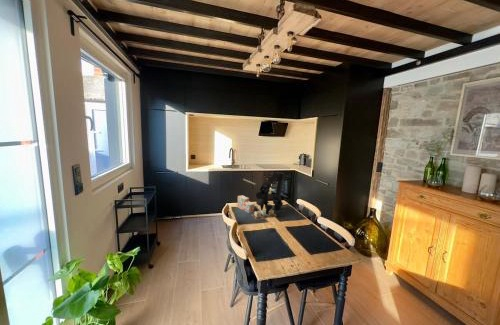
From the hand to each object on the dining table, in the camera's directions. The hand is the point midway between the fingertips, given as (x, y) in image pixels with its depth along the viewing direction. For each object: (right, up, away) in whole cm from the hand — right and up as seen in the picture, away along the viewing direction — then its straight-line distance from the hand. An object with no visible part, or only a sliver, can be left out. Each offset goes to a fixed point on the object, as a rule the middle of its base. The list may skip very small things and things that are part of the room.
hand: (264, 212), depth 189 cm
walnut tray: (0, -4, +1) cm, 4 cm away
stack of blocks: (-18, -1, +14) cm, 23 cm away
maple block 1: (-6, -3, -3) cm, 8 cm away
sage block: (0, -3, +1) cm, 3 cm away
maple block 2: (+6, -3, +4) cm, 8 cm away
